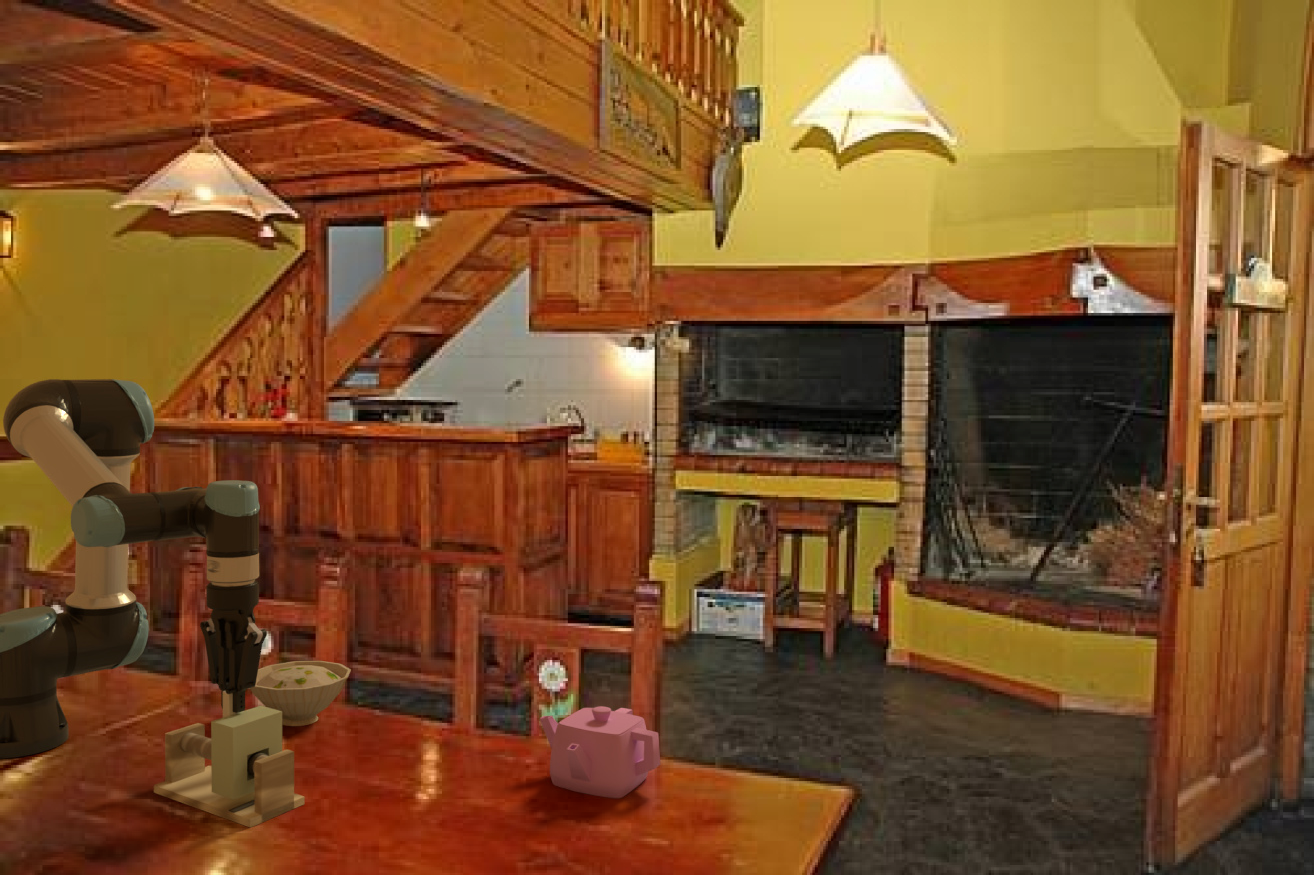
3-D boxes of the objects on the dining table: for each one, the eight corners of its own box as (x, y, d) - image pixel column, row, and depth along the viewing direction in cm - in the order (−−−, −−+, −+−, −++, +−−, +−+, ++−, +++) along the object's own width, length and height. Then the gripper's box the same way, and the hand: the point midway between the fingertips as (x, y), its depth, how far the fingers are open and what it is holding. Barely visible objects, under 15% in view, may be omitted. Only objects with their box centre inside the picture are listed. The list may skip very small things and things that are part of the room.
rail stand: (153, 792, 165) (153, 736, 165) (209, 772, 174) (208, 719, 173) (250, 827, 154) (250, 767, 153) (304, 804, 162) (304, 747, 162)
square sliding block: (211, 792, 159) (211, 721, 158) (260, 773, 167) (260, 705, 166) (233, 799, 156) (232, 727, 156) (282, 780, 164) (282, 711, 163)
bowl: (311, 697, 214) (311, 649, 213) (372, 717, 203) (372, 667, 202) (224, 721, 198) (224, 670, 198) (285, 745, 187) (285, 690, 187)
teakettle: (665, 794, 170) (667, 719, 169) (564, 807, 164) (566, 730, 163) (630, 757, 186) (631, 689, 185) (537, 768, 180) (538, 697, 179)
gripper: (184, 580, 161) (185, 729, 163) (239, 590, 155) (240, 746, 156) (226, 572, 168) (226, 716, 169) (281, 582, 161) (281, 732, 162)
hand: (233, 730), depth 162 cm, fingers closed
